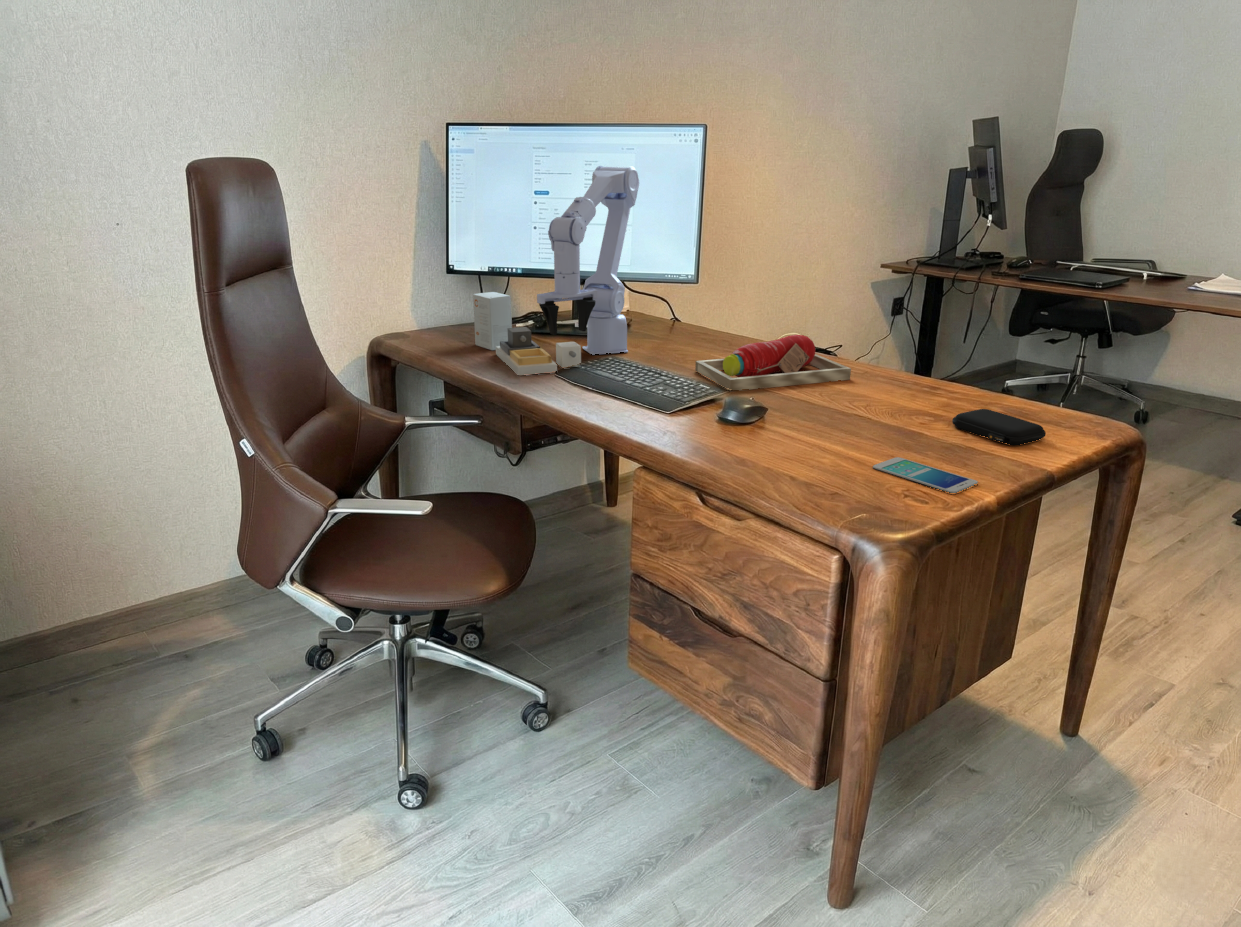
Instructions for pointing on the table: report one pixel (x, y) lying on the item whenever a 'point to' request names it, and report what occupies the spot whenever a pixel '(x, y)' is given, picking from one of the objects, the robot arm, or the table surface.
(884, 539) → the table surface
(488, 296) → the small box
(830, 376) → the desk tray
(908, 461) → the smartphone
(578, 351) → the plug
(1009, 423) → the carrying case or bag
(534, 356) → the white base platform
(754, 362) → the water bottle
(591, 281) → the robot arm
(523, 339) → the twin plug
